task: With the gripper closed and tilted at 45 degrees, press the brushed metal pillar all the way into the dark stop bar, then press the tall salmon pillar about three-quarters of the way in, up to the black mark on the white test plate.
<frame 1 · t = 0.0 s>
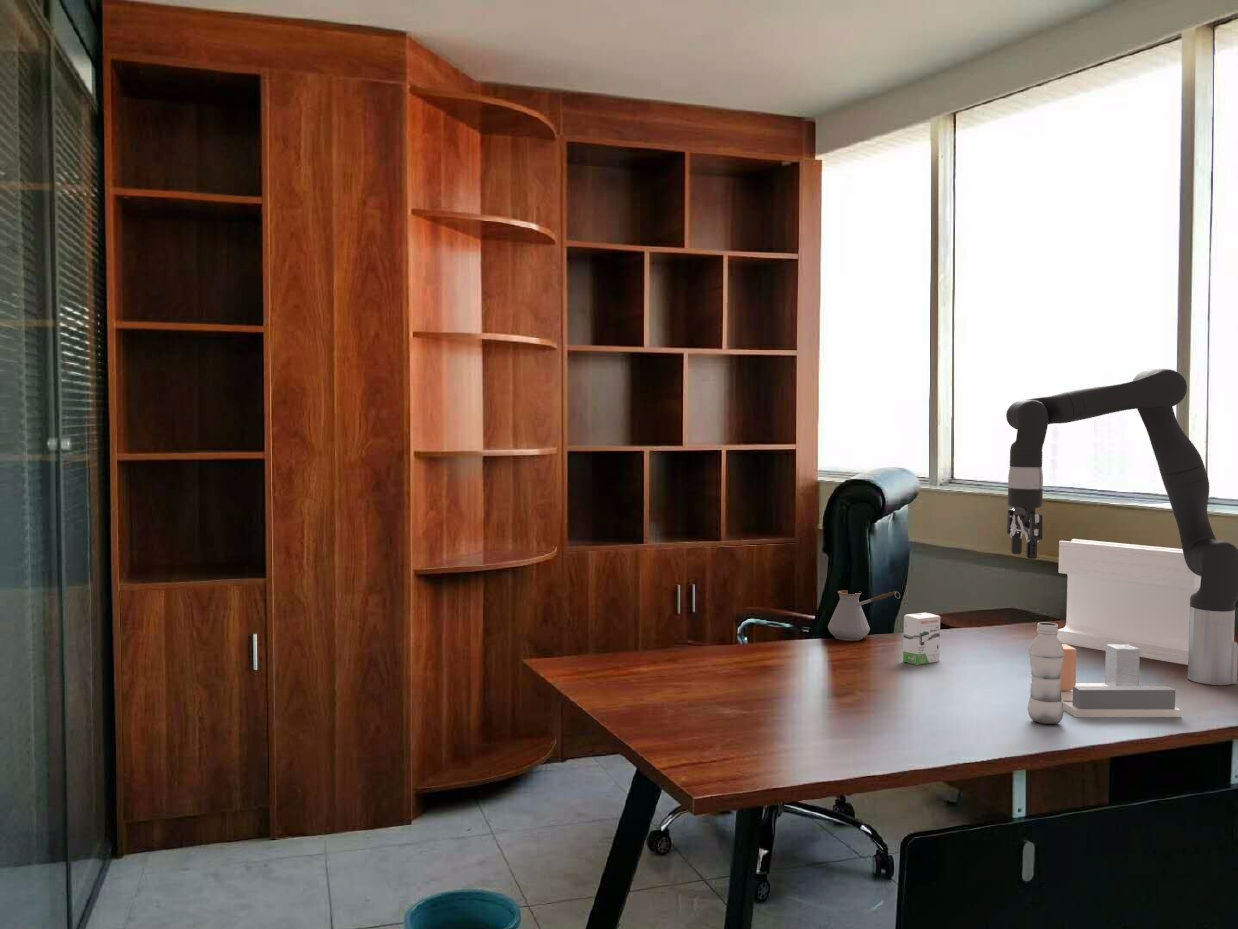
hand: (1023, 556, 246), 29 cm above the table, tool pointing down, fingers open, 8 cm apart
brushed metal pillar: (1122, 667, 234), point 6 cm above the table, slide at 0.0 cm
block: (1127, 652, 281), on the table
ink box: (921, 662, 267), on the table
coffee pot: (863, 641, 292), on the table
plastic bottle: (1045, 723, 213), on the table
test plate: (1102, 702, 229), on the table
tall salmon pillar: (1059, 667, 234), point 6 cm above the table, slide at 0.0 cm
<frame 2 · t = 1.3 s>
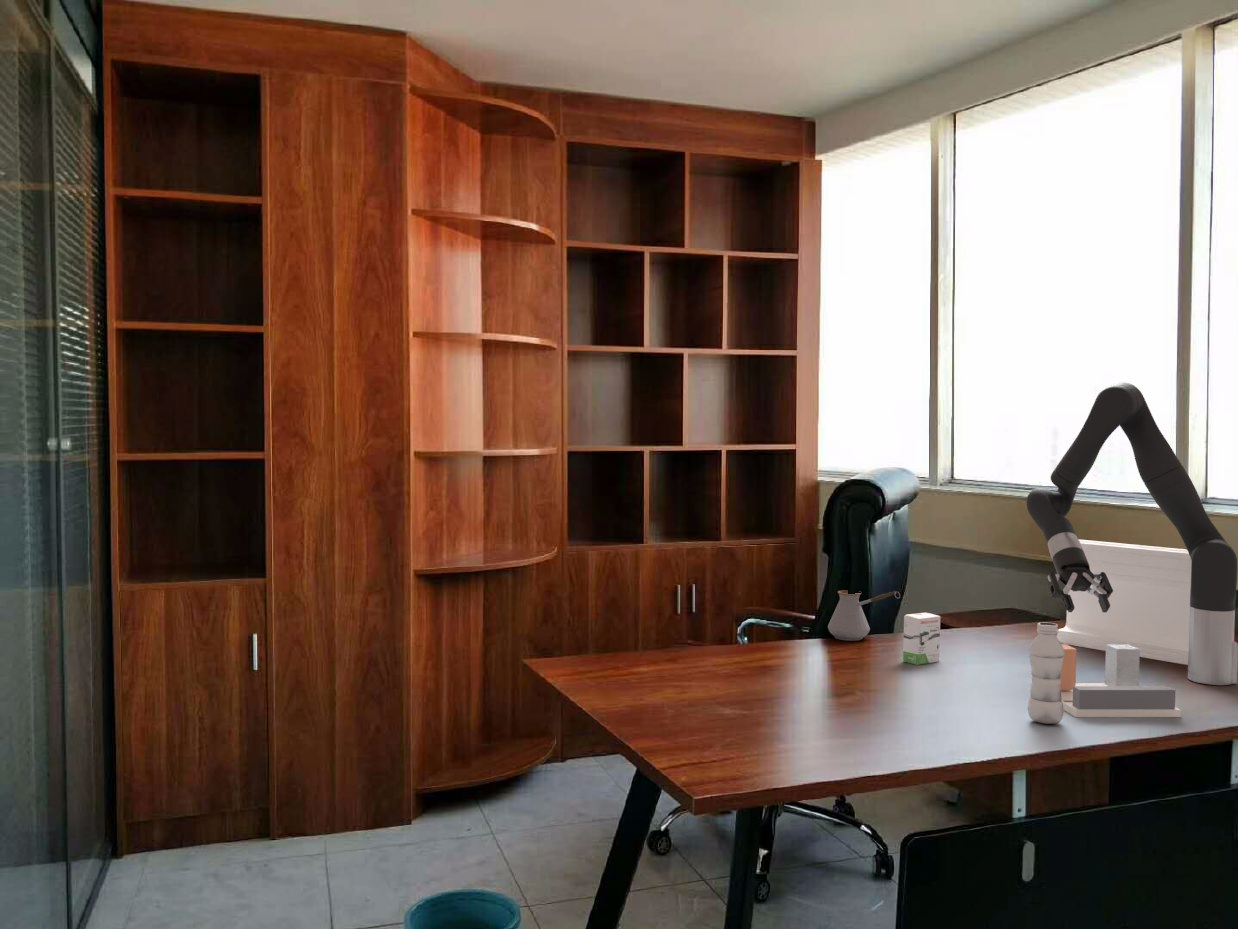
hand: (1089, 610, 250), 16 cm above the table, tool tilted 45°, fingers open, 8 cm apart
nothing on the table moved.
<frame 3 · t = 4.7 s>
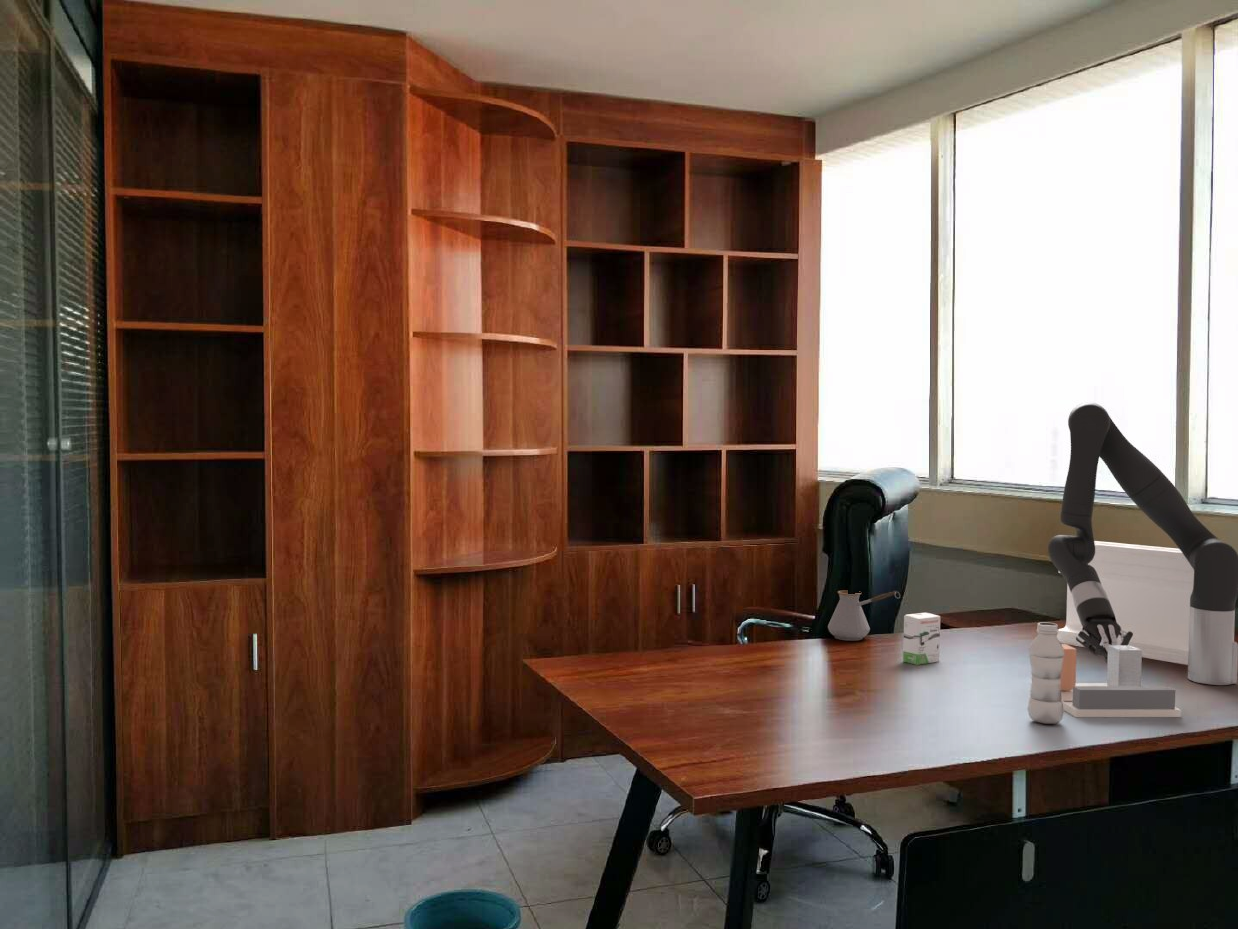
hand: (1116, 669, 237), 5 cm above the table, tool tilted 45°, fingers closed
brushed metal pillar: (1124, 668, 233), point 6 cm above the table, slide at 0.9 cm, touching gripper
everything else where it was.
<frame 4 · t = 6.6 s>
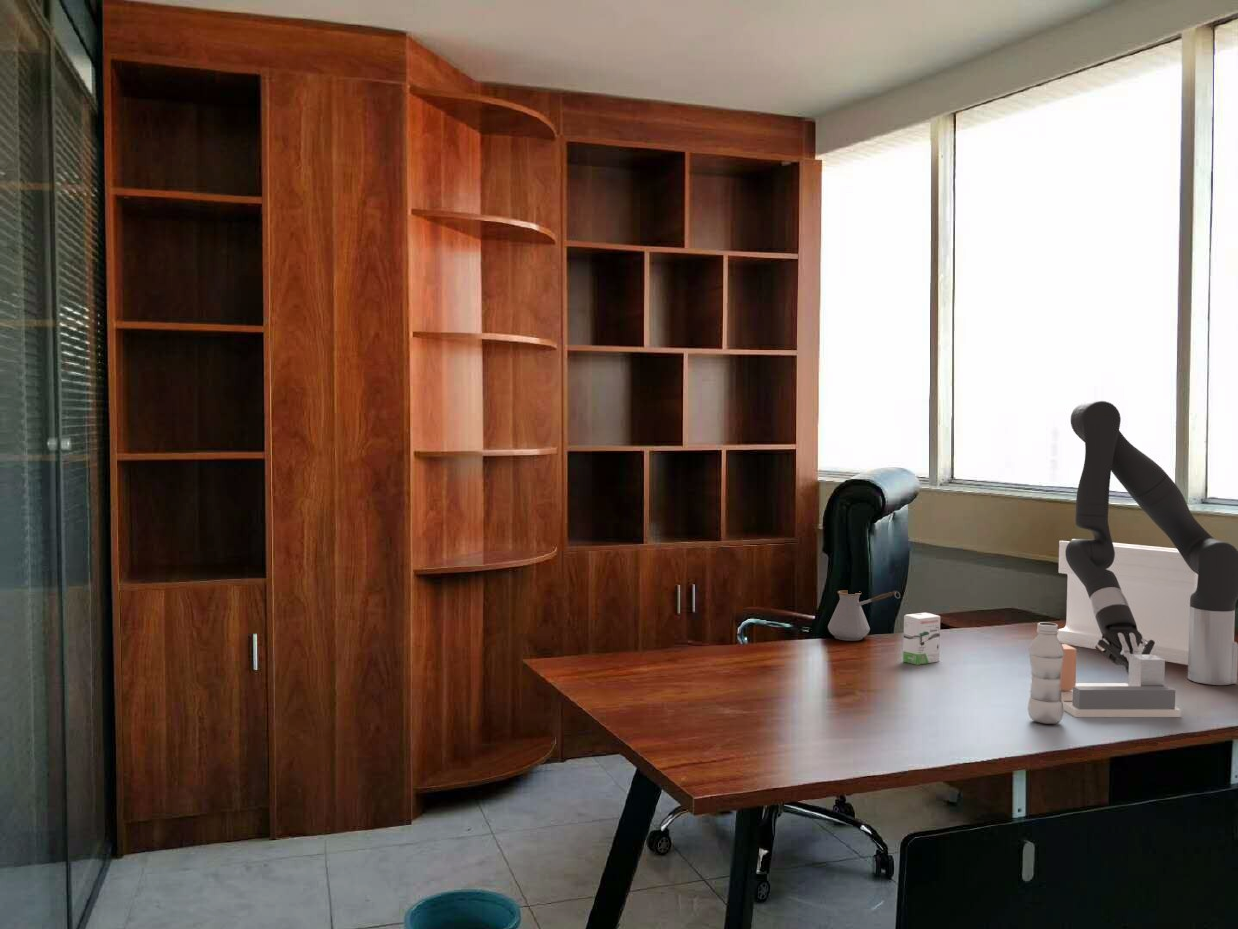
hand: (1138, 680, 227), 5 cm above the table, tool tilted 45°, fingers closed
brushed metal pillar: (1146, 678, 224), point 7 cm above the table, slide at 10.1 cm, touching gripper
everything else where it was.
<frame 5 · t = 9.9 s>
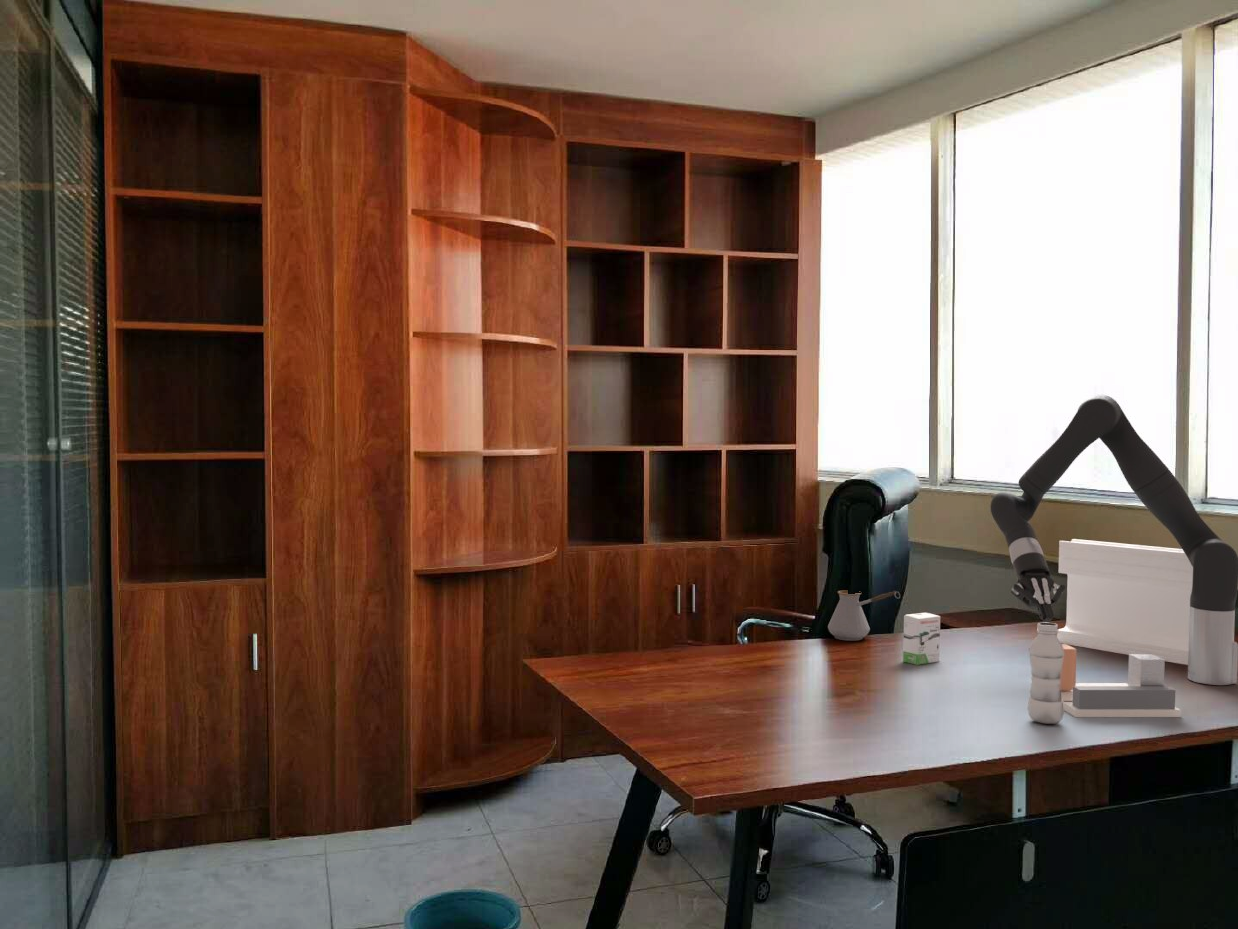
hand: (1048, 620, 247), 14 cm above the table, tool tilted 45°, fingers closed
brushed metal pillar: (1146, 678, 224), point 6 cm above the table, slide at 10.0 cm
everything else where it was.
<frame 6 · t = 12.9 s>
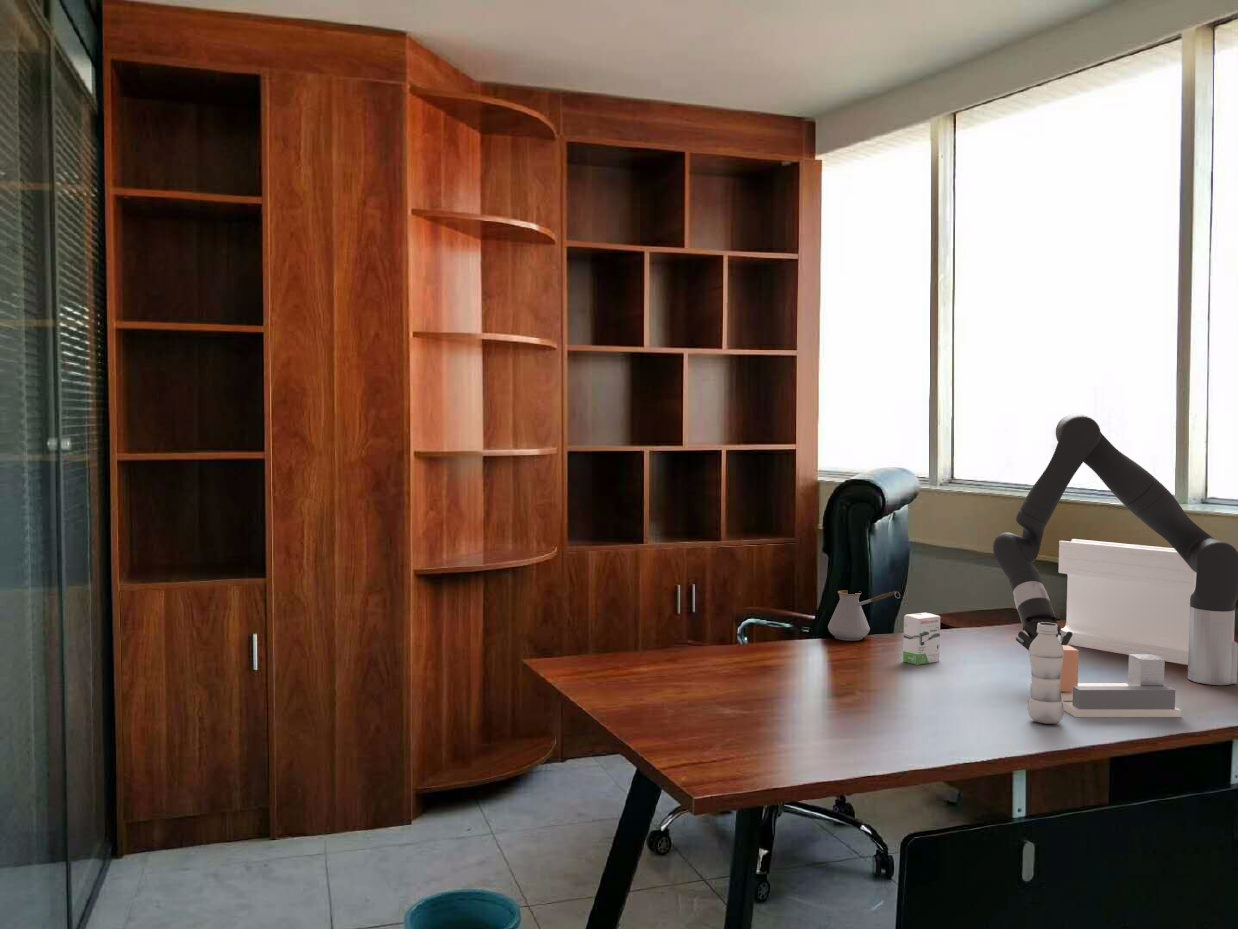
hand: (1055, 670, 236), 5 cm above the table, tool tilted 45°, fingers closed
tall salmon pillar: (1061, 668, 233), point 6 cm above the table, slide at 1.0 cm, touching gripper
everything else where it was.
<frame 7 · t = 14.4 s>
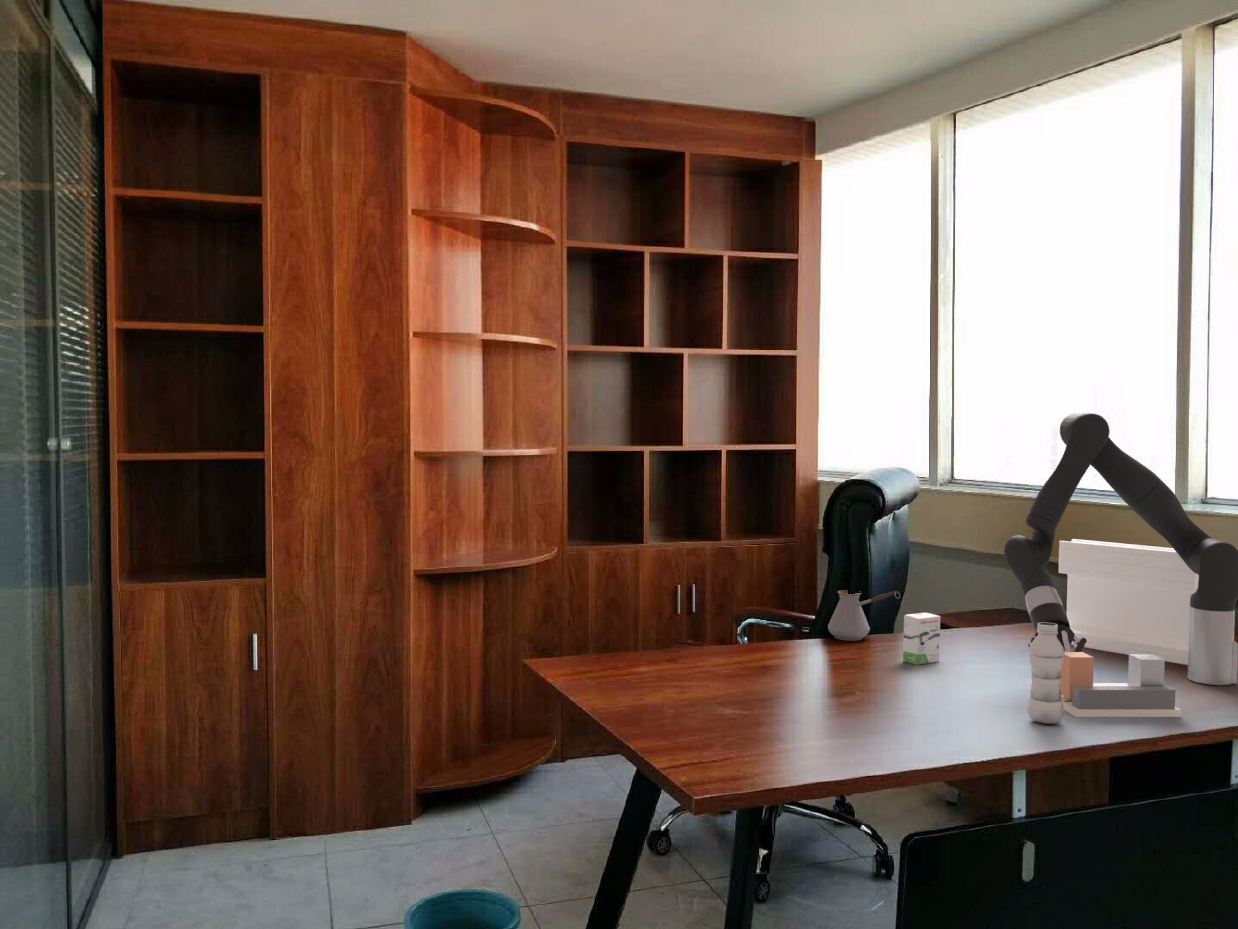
hand: (1069, 677, 229), 5 cm above the table, tool tilted 45°, fingers closed
tall salmon pillar: (1076, 675, 226), point 7 cm above the table, slide at 7.9 cm, touching gripper
everything else where it was.
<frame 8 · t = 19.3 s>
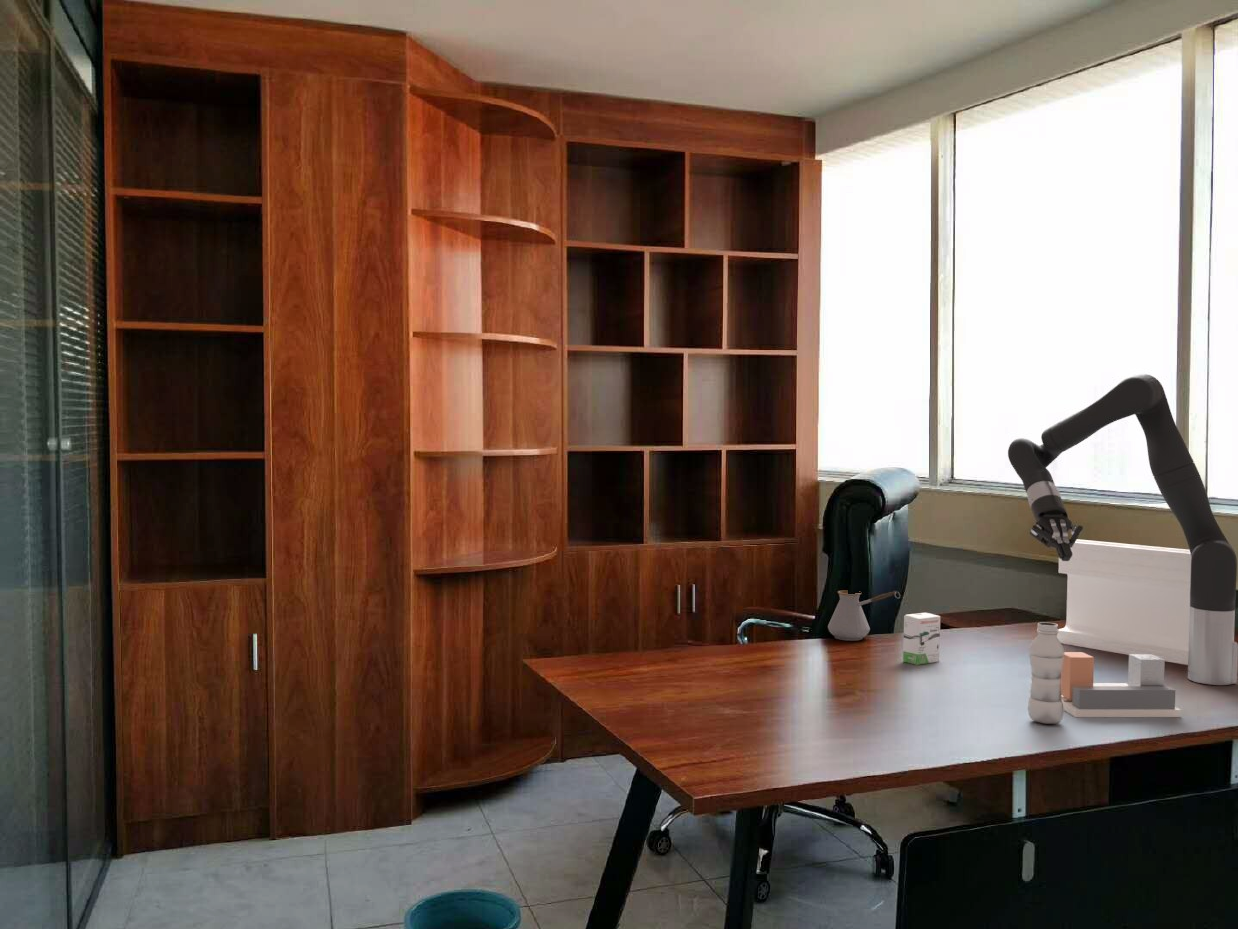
hand: (1067, 559, 253), 28 cm above the table, tool tilted 45°, fingers closed
tall salmon pillar: (1076, 675, 226), point 6 cm above the table, slide at 8.0 cm
everything else where it was.
at the end: brushed metal pillar slide at 10.0 cm; tall salmon pillar slide at 8.0 cm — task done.
